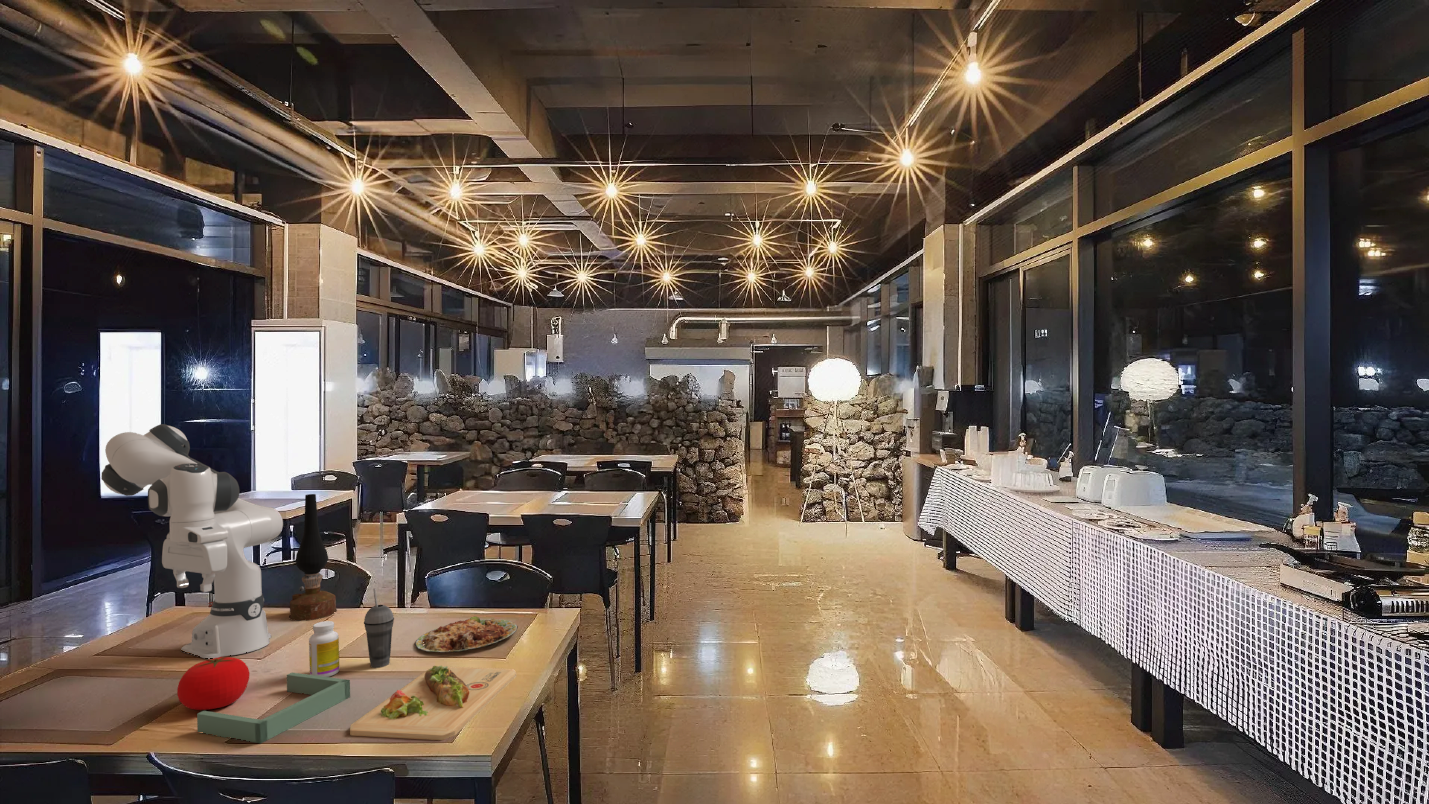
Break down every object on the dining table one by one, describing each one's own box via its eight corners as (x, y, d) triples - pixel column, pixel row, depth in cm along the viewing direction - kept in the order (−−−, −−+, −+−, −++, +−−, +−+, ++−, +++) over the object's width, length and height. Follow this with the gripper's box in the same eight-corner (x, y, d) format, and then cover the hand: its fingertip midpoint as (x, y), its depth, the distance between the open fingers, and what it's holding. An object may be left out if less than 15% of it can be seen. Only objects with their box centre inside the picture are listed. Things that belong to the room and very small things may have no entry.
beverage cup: (383, 670, 182) (381, 592, 181) (358, 668, 183) (356, 591, 183) (401, 660, 189) (399, 585, 189) (377, 658, 190) (375, 584, 190)
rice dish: (393, 654, 197) (392, 635, 197) (461, 620, 223) (460, 603, 223) (475, 666, 187) (474, 646, 187) (536, 628, 213) (535, 611, 213)
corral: (197, 732, 149) (197, 713, 149) (292, 688, 171) (292, 672, 171) (260, 743, 144) (260, 723, 144) (350, 696, 166) (349, 679, 166)
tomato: (212, 720, 155) (211, 672, 155) (162, 716, 157) (161, 670, 157) (264, 693, 169) (263, 649, 169) (217, 690, 171) (216, 647, 171)
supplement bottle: (345, 670, 182) (344, 620, 182) (323, 680, 176) (322, 629, 176) (325, 667, 184) (324, 618, 184) (303, 677, 178) (302, 626, 178)
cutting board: (449, 743, 144) (448, 707, 144) (343, 738, 147) (343, 701, 147) (520, 676, 178) (519, 646, 178) (433, 672, 182) (432, 643, 181)
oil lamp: (344, 620, 235) (370, 500, 239) (303, 626, 221) (332, 499, 225) (314, 611, 240) (340, 494, 244) (273, 616, 226) (301, 492, 230)
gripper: (153, 531, 171) (154, 588, 171) (203, 536, 163) (205, 596, 163) (182, 527, 177) (183, 582, 177) (232, 531, 168) (233, 589, 168)
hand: (194, 589), depth 170 cm, fingers open, 8 cm apart
